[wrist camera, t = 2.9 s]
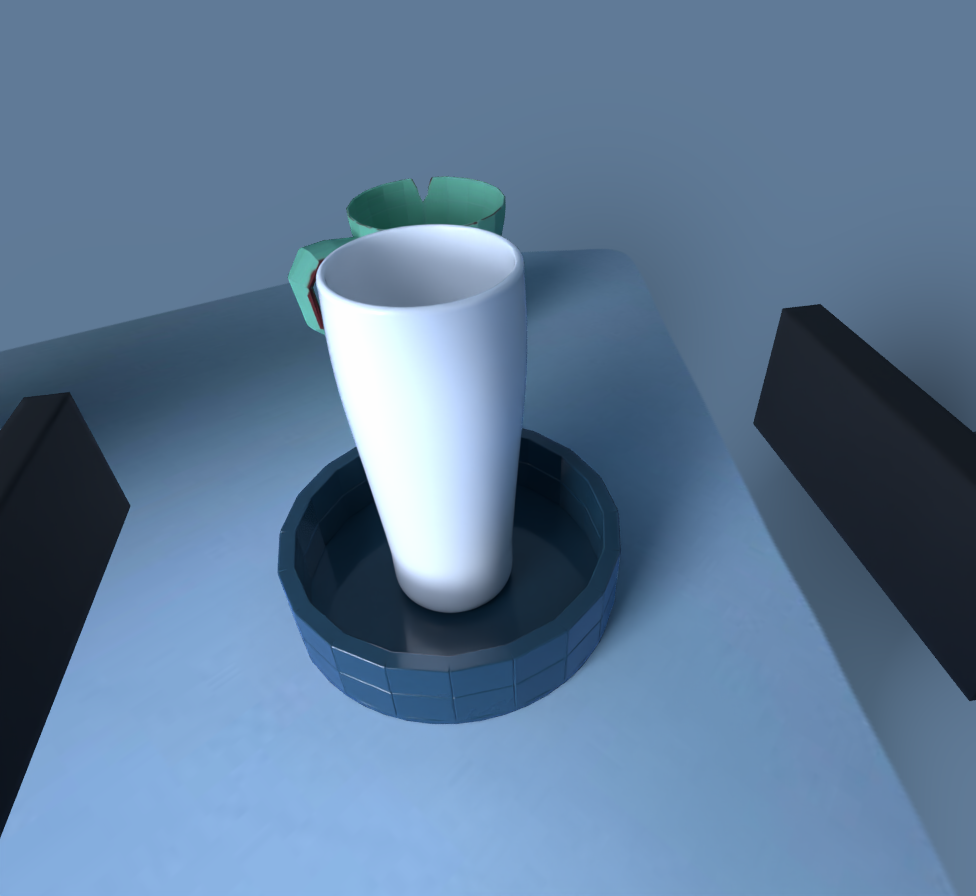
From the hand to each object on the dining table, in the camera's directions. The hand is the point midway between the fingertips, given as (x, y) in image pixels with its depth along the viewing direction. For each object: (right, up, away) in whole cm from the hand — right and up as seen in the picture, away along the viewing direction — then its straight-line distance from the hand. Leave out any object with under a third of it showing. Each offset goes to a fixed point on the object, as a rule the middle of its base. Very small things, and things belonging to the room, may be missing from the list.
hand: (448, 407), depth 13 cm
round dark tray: (-1, -7, +18) cm, 19 cm away
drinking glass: (-1, -7, +18) cm, 19 cm away
